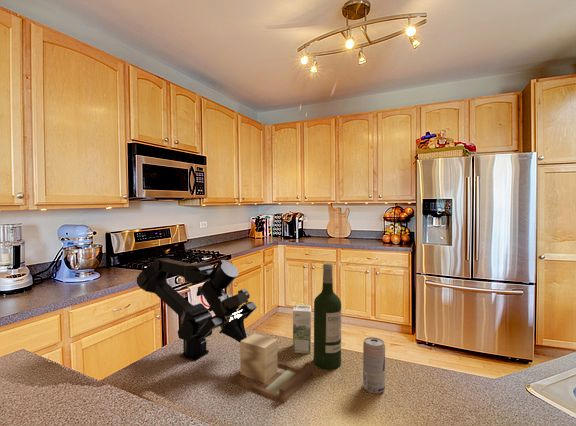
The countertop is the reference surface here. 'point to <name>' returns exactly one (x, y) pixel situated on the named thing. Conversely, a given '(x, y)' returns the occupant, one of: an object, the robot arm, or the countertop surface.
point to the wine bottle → (327, 324)
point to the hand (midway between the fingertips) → (246, 343)
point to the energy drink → (374, 365)
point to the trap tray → (278, 382)
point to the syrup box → (302, 329)
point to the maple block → (258, 357)
